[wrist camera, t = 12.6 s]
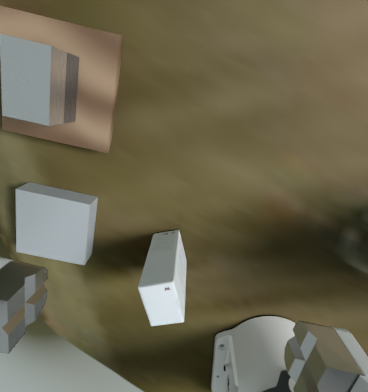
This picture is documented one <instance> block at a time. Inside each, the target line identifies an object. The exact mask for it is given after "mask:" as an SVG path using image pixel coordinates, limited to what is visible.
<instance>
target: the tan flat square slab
mask: <svg viewBox="0 0 368 392" xmlns="http://www.w3.org/2000/svg"><path fill="white" fill-rule="evenodd" d="M0 34H4V35H8V36H12V37H16V38H20V39H24V40H29V41H33V42H37V43H41V44H45V45H50V46H53V47H55V48H58V49H60V50H63V51H65V52H68V53H70V54H72V55H75V56H77V57H80V58H79V73H78V89H77V104H76V120H75V122H70V123H64V124H58V125H51V126H47V125H43V124H38V123H34V122H29V121H25V120H20V119H16V118H11V117H7V116H2V130H5V131H10V132H14V133H19V134H23V135H28V136H32V137H37V138H41V139H46V140H50V141H55V142H59V143H64V144H68V145H73V146H77V147H82V148H87V149H91V150H96V151H100V152H105V153H108V152H109V147H110V145H111V141H112V132H113V124H114V115H115V107H116V98H117V90H118V81H119V73H120V64H121V56H122V47H123V45H122V44H121V43H122V36H121V35H117V34H113V33H109V32H105V31H101V30H97V29H93V28H89V27H85V26H81V25H77V24H73V23H69V22H64V21H60V20H56V19H52V18H48V17H44V16H40V15H36V14H32V13H28V12H24V11H20V10H16V9H12V8H7V7H3V6H0ZM0 76H1V59H0ZM1 107H2V88H1Z"/></svg>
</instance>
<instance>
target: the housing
mask: <svg viewBox="0 0 368 392" xmlns="http://www.w3.org/2000/svg"><path fill="white" fill-rule="evenodd" d="M79 58H80V57H77V56H75V55H72V54H70V53H68V52H65V51H63V50H60V49H58V48H55V47H53V46H50V45H45V44H41V43H37V42H33V41H29V40H24V39H20V38H16V37H12V36H8V35H4V34H0V59H1V88H2V116H7V117H11V118H16V119H20V120H25V121H29V122H34V123H38V124H43V125H47V126H51V125H58V124H64V123H70V122H75V120H76V104H77V89H78V73H79Z"/></svg>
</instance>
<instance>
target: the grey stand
mask: <svg viewBox="0 0 368 392" xmlns="http://www.w3.org/2000/svg"><path fill="white" fill-rule="evenodd" d="M97 201H98V197H96V196H91V195H87V194H82V193H77V192H72V191H68V190H63V189H58V188H54V187H49V186H44V185H40V184H35V183H30V182H29V183H27V184H25V185H23V186H21V187H18V188H16V249H17V252H20V253H25V254H30V255H35V256H40V257H45V258H50V259H55V260H60V261H65V262H70V263H75V264H80V265H85V264H86V262H87V261H88V259H89V258H90V256H91V255H92V248H93V239H94V229H95V220H96V211H97Z"/></svg>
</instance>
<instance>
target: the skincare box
mask: <svg viewBox="0 0 368 392" xmlns="http://www.w3.org/2000/svg"><path fill="white" fill-rule="evenodd" d="M186 264H187V260H186V256H185V252H184V248H183V244H182V240H181V235H180V231H179V230H174V231H168V232H162V233H156V234H153V237H152V241H151V244H150V248H149V251H148V254H147V258H146V261H145V265H144V268H143V272H142V275H141V279H140V282H139V286H138V290H139V293H140V296H141V299H142V301H143V304H144V307H145V310H146V313H147V315H148V318H149V321H150V324H151V326H157V325H165V324H173V323H182V322H184V313H185V290H186Z"/></svg>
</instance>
